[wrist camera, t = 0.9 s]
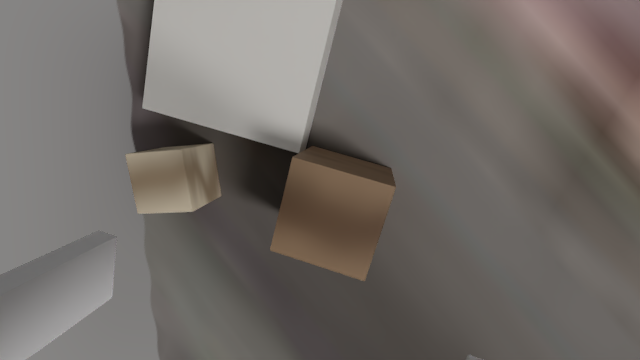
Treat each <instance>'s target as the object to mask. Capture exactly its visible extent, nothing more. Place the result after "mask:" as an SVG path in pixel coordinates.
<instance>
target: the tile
mask: <svg viewBox="0 0 640 360" xmlns="http://www.w3.org/2000/svg"><path fill="white" fill-rule="evenodd" d="M342 2H343V0H154V8H153V17H152V26H151V35H150V44H149V52H148V61H147V70H146V79H145V88H144V97H143V106H142V108H143V109H147V110H150V111H154V112H157V113H161V114H164V115H168V116H171V117H174V118H178V119H181V120H185V121H188V122H192V123H195V124H199V125H202V126H205V127H209V128H212V129H216V130H219V131H223V132H226V133H230V134H233V135H237V136H240V137H243V138H247V139H250V140H254V141H257V142H261V143H264V144H268V145H271V146H274V147H278V148H281V149H285V150H288V151H292V152H295V153H300V152H302V151H304V150H306V146H307V142H308V138H309V134H310V130H311V126H312V122H313V118H314V114H315V110H316V106H317V102H318V98H319V94H320V90H321V86H322V82H323V78H324V74H325V70H326V66H327V62H328V58H329V54H330V50H331V46H332V42H333V38H334V34H335V30H336V26H337V22H338V18H339V14H340V10H341V6H342Z"/></svg>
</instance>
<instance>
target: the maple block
mask: <svg viewBox="0 0 640 360" xmlns="http://www.w3.org/2000/svg"><path fill="white" fill-rule="evenodd" d="M125 155H126V160H127V165H128V169H129V174H130V179H131V183H132V188H133V193H134V197H135V202H136V207H137V212H138V214H147V213H172V212H193V211H195V210H197V209H198V208H200V207H202V206H204V205H206V204H208V203H209V202H211V201H213V200H215V199H217V198H218V197H220V196H221V190H220V183H219V177H218V171H217V164H216V158H215V152H214V145H213V143H210V144H198V145H186V146H174V147H163V148H157V149H152V150H146V151H140V152H134V153H129V154H125Z"/></svg>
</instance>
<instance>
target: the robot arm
mask: <svg viewBox="0 0 640 360" xmlns="http://www.w3.org/2000/svg"><path fill="white" fill-rule="evenodd" d="M116 238H117V237H116V236H114V235H111V234H108V233H105V232H102V231H97V232H94V233H92V234H90V235H88V236H85V237H83V238H81V239H79V240H77V241H74V242H72V243H70V244H68V245H66V246H63V247H61V248H59V249H57V250H55V251H52V252H50V253H48V254H46V255H44V256H41V257H39V258H37V259H35V260H32V261H30V262H28V263H26V264H24V265H21V266H19V267H17V268H15V269H12V270H10V271H8V272H6V273H4V274H1V275H0V360H27V359H28V358H29V357H31V356H32V355H34V354H35V353H36V352H37V351H39V350H40V349H42V348H43V347H45V346H46V345H47V344H49V343H50V342H51V341H53V340H54V339H56V338H57V337H58V336H60V335H61V334H63V333H64V332H65V331H67V330H68V329H69V328H71V327H72V326H74V325H75V324H76V323H78V322H79V321H80V320H82V319H83V318H85V317H86V316H87V315H89V314H90V313H91V312H93V311H94V310H96V309H97V308H98V307H100V306H101V305H103V304H104V303H105V302H107V301H108V300H109V299H111V298H112V294H113V279H114V265H115V252H116ZM466 360H483V359H480V358H477V357H474V356H471V355H468V356H467V359H466Z"/></svg>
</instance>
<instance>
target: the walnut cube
mask: <svg viewBox="0 0 640 360" xmlns="http://www.w3.org/2000/svg"><path fill="white" fill-rule="evenodd" d="M395 189H396V185H395V181H394V177H393V174H392V170H391V168H388V167H385V166H381V165H378V164H374V163H371V162H367V161H364V160H360V159H357V158H353V157H350V156H346V155H343V154H339V153H336V152H332V151H329V150H325V149H322V148H318V147H315V146H311V147H310V148H308V149H306V150H304V151H302V152H300V153H299V154H297V155H295V156H293V157H292V161H291V165H290V169H289V173H288V177H287V181H286V186H285V190H284V194H283V198H282V202H281V206H280V210H279V215H278V219H277V223H276V227H275V231H274V235H273V240H272V244H271V248H270V250H271V251H274V252H277V253H280V254H283V255H286V256H289V257H292V258H295V259H298V260H301V261H304V262H307V263H310V264H313V265H317V266H320V267H323V268H326V269H329V270H332V271H335V272H338V273H341V274H344V275H347V276H350V277H353V278H356V279H359V280H362V281H365V279H366V276H367V273H368V270H369V267H370V264H371V261H372V258H373V255H374V252H375V249H376V246H377V243H378V240H379V237H380V234H381V231H382V228H383V225H384V222H385V219H386V216H387V213H388V210H389V207H390V204H391V201H392V198H393V195H394V192H395Z"/></svg>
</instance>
